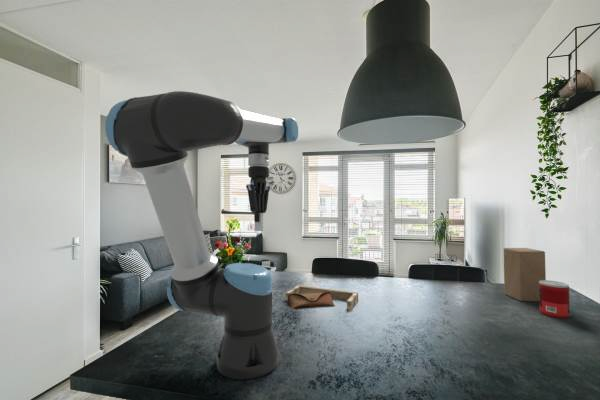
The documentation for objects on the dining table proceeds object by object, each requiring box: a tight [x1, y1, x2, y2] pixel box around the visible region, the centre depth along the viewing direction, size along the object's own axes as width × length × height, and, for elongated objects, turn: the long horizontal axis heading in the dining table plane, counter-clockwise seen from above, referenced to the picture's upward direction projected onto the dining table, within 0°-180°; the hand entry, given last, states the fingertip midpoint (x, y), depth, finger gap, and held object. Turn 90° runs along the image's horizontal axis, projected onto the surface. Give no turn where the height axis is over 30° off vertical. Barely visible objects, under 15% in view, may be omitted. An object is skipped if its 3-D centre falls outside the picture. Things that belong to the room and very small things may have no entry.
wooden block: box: [503, 247, 547, 302], centre depth 119 cm, size 10×10×20 cm
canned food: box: [538, 279, 571, 319], centre depth 101 cm, size 8×8×11 cm
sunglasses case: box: [287, 292, 336, 310], centre depth 113 cm, size 18×7×7 cm
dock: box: [285, 285, 359, 311], centre depth 117 cm, size 12×27×3 cm, turn 66°
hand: (258, 230), depth 105 cm, fingers closed
